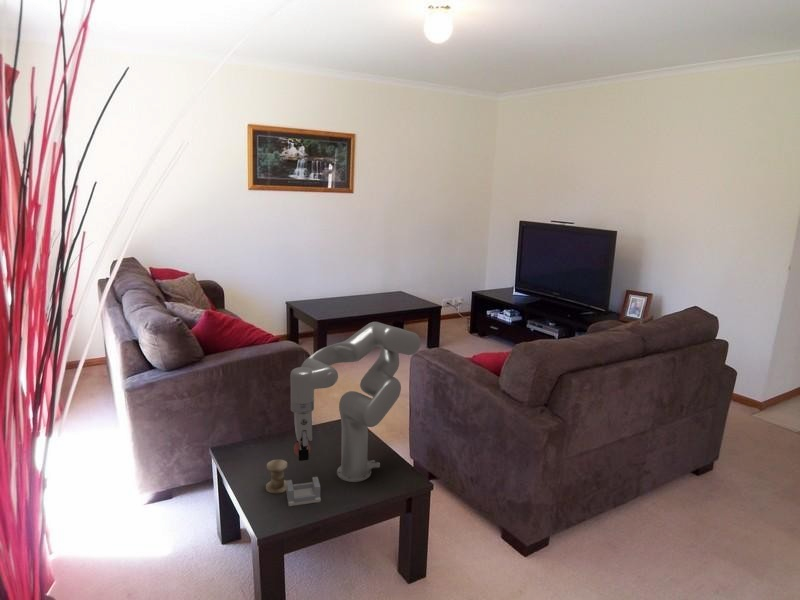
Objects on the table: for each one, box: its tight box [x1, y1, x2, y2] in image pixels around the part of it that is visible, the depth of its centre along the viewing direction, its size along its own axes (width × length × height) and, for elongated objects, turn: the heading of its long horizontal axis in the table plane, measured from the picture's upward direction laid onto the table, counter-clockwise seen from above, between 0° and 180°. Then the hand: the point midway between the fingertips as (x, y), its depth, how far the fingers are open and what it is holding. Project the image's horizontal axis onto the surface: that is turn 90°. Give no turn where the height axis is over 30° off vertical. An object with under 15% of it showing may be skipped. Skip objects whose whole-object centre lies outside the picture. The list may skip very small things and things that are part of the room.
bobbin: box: [265, 458, 288, 495], centre depth 189 cm, size 8×8×9 cm
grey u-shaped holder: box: [285, 476, 322, 507], centre depth 184 cm, size 11×9×5 cm
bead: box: [293, 441, 311, 458], centre depth 181 cm, size 6×6×6 cm
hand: (302, 454), depth 181 cm, fingers closed on bead, 5 cm apart
